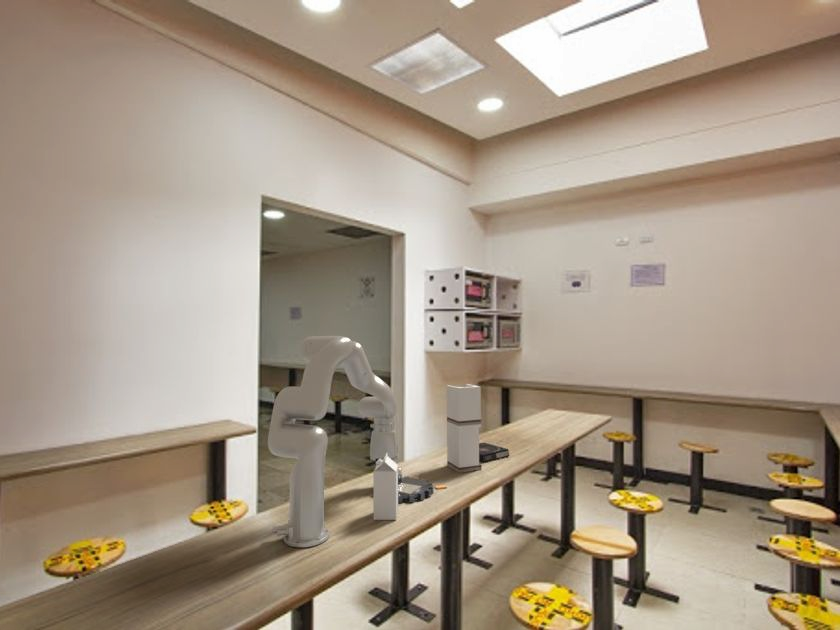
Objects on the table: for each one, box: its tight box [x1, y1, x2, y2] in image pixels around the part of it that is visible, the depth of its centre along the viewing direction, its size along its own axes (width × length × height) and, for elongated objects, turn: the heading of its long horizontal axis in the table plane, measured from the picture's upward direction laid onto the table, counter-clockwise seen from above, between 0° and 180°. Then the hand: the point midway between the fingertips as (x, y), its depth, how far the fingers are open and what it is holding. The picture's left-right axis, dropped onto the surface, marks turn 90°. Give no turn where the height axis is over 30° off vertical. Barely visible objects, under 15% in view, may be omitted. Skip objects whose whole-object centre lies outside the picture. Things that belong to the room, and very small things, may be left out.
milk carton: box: [372, 453, 399, 521], centre depth 144 cm, size 7×7×19 cm
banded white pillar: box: [446, 383, 483, 473], centre depth 196 cm, size 11×11×35 cm
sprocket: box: [398, 466, 434, 504], centre depth 166 cm, size 22×22×6 cm
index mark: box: [434, 484, 448, 490], centre depth 170 cm, size 4×2×1 cm, turn 108°
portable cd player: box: [479, 442, 510, 464], centre depth 214 cm, size 16×17×4 cm
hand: (384, 475), depth 173 cm, fingers closed
